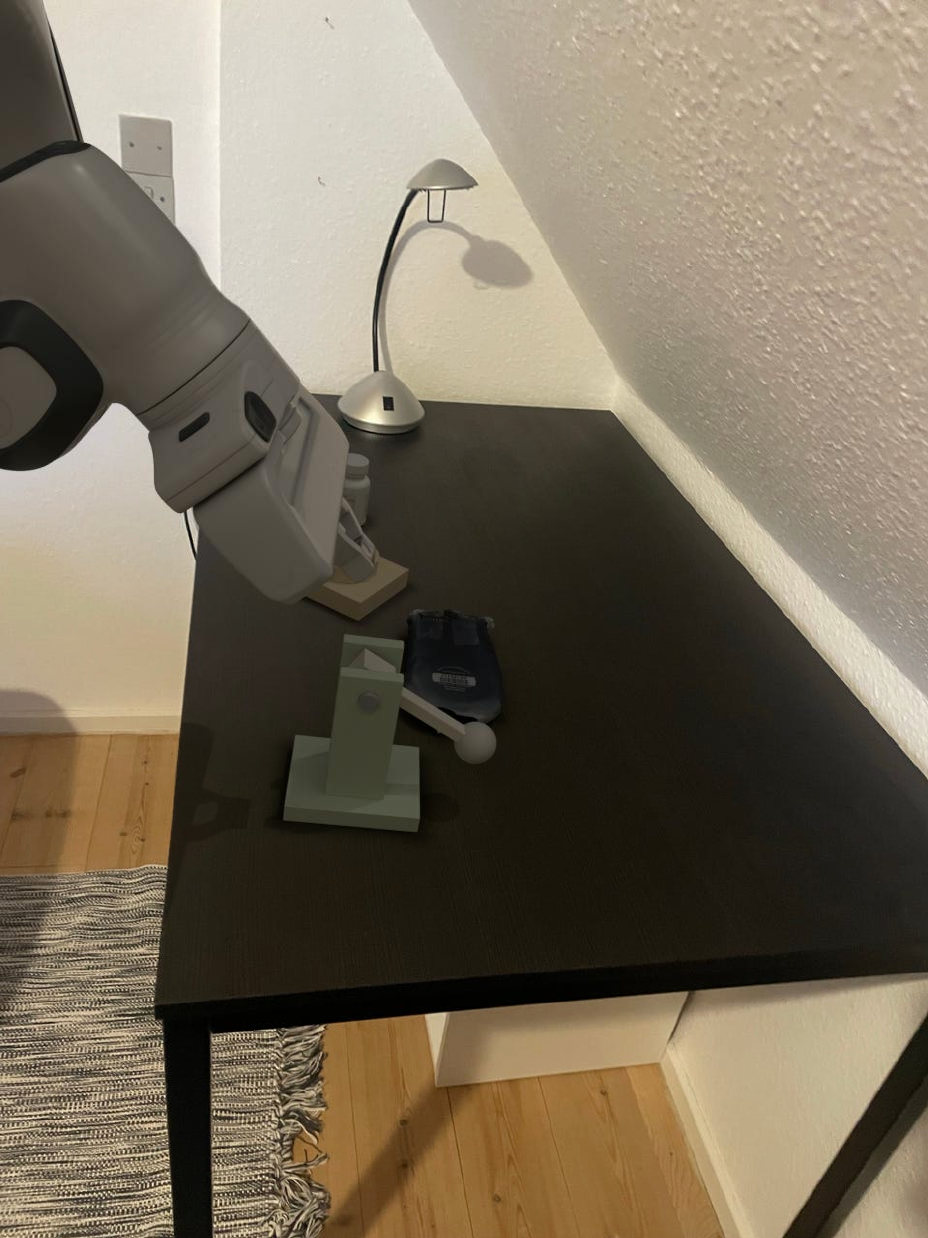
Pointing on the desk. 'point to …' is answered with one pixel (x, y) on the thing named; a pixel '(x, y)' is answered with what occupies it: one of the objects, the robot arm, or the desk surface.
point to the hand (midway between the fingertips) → (367, 567)
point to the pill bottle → (357, 486)
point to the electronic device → (454, 664)
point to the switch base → (358, 752)
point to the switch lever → (438, 717)
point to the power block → (362, 589)
